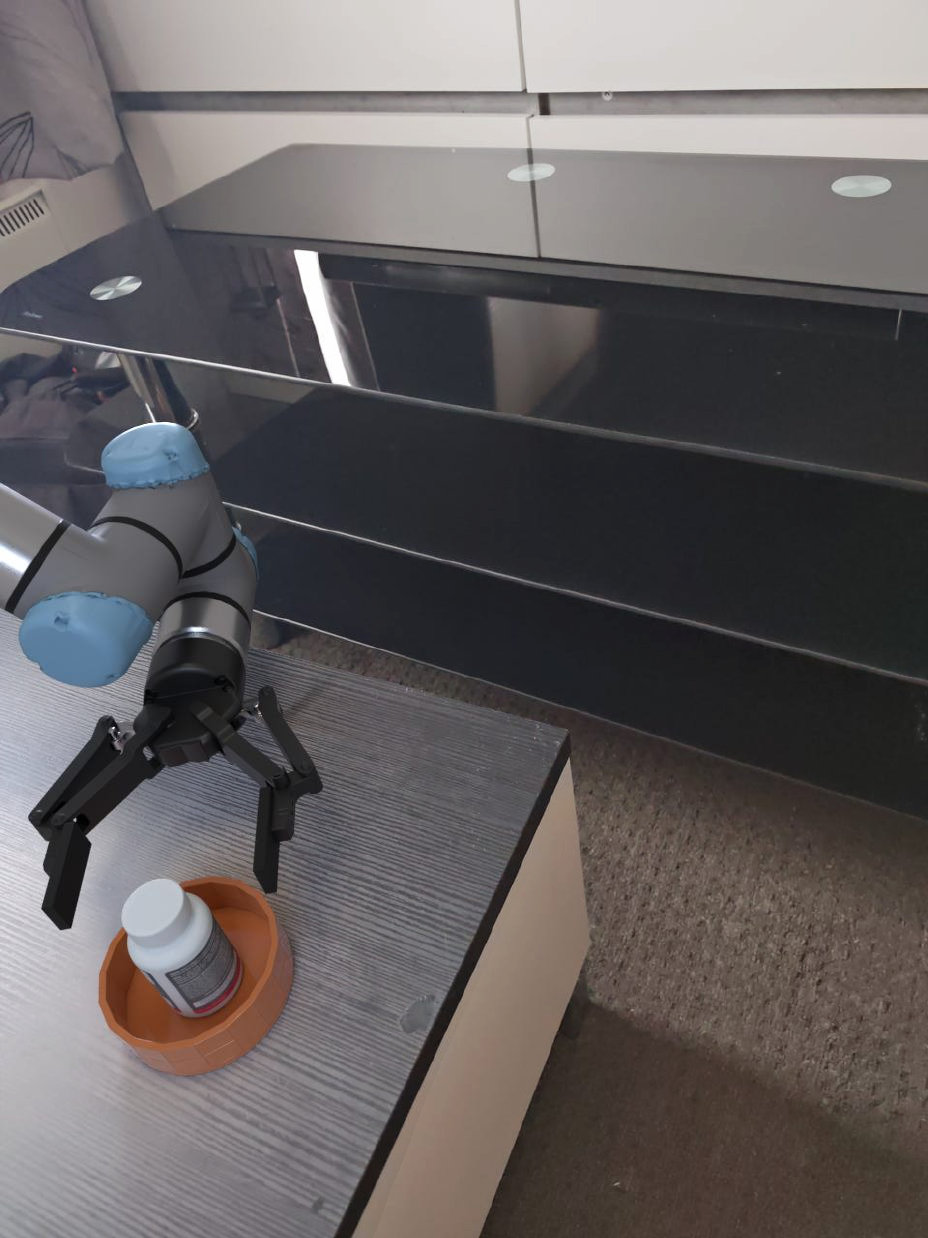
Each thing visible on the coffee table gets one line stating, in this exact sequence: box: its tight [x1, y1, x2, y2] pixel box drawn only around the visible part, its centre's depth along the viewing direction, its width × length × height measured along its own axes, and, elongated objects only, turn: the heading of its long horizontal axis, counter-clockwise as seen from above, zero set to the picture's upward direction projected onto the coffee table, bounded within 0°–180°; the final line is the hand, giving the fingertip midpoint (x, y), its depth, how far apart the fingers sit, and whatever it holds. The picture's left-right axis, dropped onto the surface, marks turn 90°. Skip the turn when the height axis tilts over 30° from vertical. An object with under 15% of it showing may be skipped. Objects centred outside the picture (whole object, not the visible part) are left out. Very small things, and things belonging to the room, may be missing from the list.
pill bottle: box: [120, 878, 243, 1018], centre depth 60 cm, size 5×5×10 cm
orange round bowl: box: [97, 875, 295, 1077], centre depth 62 cm, size 12×12×4 cm
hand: (160, 901), depth 58 cm, fingers open, 13 cm apart
